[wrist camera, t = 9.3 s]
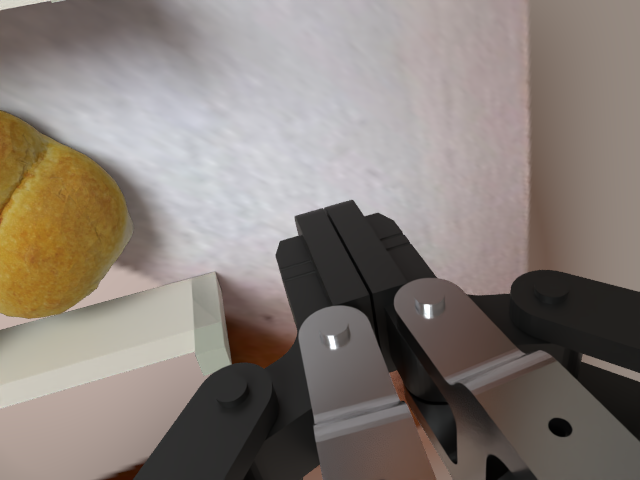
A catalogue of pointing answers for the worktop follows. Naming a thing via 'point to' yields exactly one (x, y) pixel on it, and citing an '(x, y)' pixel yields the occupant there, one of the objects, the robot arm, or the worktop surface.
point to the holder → (113, 333)
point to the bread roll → (53, 222)
